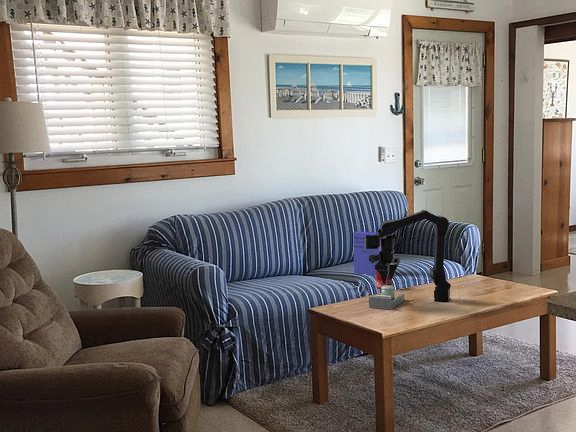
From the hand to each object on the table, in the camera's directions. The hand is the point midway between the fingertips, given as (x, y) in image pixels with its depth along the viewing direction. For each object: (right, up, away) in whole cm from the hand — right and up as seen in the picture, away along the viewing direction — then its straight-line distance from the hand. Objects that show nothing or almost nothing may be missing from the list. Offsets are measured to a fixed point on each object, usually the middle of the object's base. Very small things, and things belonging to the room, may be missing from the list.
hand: (387, 281), depth 303 cm
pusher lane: (0, -10, 0) cm, 10 cm away
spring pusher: (-3, -10, -5) cm, 12 cm away
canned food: (+3, -7, +30) cm, 31 cm away
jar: (0, -10, +1) cm, 10 cm away
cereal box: (0, -3, +65) cm, 65 cm away
